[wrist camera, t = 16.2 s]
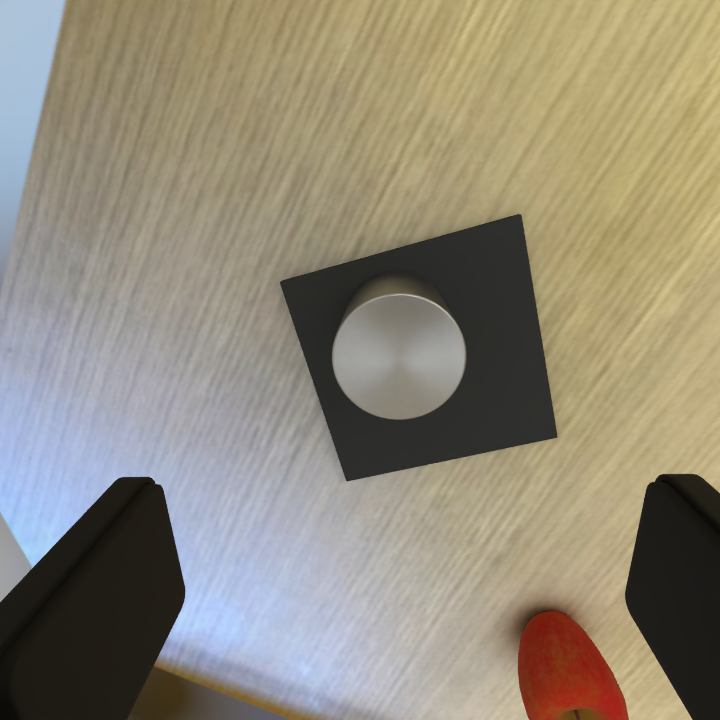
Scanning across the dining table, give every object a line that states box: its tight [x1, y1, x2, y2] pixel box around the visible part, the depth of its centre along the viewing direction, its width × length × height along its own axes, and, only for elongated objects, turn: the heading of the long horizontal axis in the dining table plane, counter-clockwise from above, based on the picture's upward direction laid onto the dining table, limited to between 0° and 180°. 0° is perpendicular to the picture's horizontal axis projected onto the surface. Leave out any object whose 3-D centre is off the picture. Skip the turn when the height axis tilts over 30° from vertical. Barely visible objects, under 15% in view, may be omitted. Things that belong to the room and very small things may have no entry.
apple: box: [518, 610, 629, 720], centre depth 31 cm, size 6×6×8 cm
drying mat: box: [280, 214, 557, 481], centre depth 28 cm, size 14×14×1 cm
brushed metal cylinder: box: [332, 271, 466, 420], centre depth 23 cm, size 6×6×7 cm
